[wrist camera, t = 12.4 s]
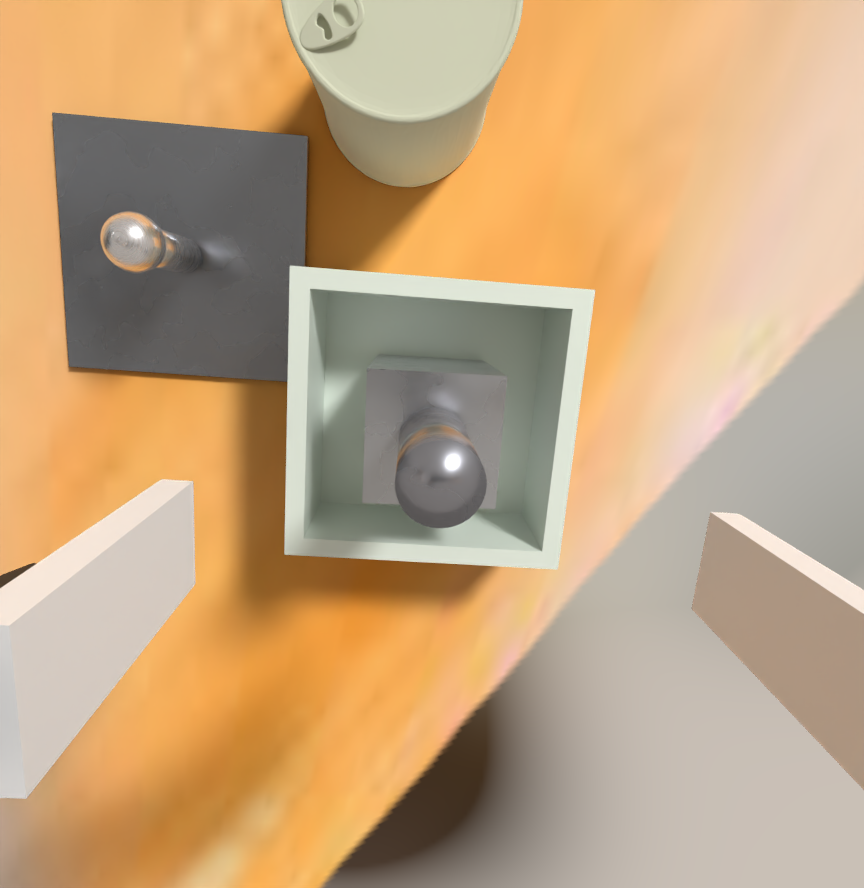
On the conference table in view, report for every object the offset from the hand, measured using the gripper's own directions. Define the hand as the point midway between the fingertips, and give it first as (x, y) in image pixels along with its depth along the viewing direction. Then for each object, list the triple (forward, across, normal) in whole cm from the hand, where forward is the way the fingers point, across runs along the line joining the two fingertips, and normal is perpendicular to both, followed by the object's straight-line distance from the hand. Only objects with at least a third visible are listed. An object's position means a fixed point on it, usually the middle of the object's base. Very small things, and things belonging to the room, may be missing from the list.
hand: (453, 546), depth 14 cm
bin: (+22, 0, 0) cm, 23 cm away
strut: (+22, 0, 0) cm, 22 cm away
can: (+23, -2, +17) cm, 29 cm away
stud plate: (+22, -15, +8) cm, 28 cm away
